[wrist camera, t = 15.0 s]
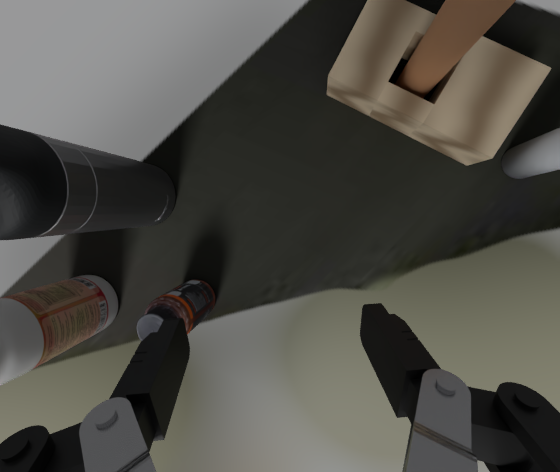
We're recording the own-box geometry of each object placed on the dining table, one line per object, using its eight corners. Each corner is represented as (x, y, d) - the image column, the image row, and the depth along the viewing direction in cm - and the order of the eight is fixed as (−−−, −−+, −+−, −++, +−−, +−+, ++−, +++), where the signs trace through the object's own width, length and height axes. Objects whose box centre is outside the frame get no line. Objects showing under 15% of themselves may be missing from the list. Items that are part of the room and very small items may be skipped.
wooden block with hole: (326, 94, 35) (328, 75, 30) (366, 19, 33) (374, -14, 28) (466, 165, 33) (492, 158, 28) (515, 90, 32) (551, 68, 27)
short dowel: (498, 177, 33) (565, 157, 24) (504, 144, 33) (573, 112, 24) (535, 180, 32) (617, 161, 23) (540, 147, 32) (625, 115, 23)
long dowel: (386, 97, 34) (461, -25, 16) (404, 67, 33) (501, -94, 16) (415, 111, 34) (522, 3, 16) (433, 81, 33) (566, -67, 15)
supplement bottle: (190, 270, 40) (141, 294, 29) (223, 291, 40) (186, 323, 29) (173, 302, 41) (120, 337, 30) (205, 323, 41) (163, 366, 30)
